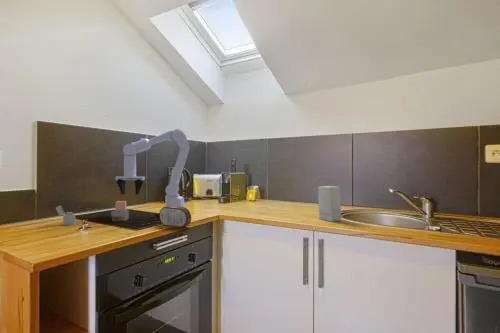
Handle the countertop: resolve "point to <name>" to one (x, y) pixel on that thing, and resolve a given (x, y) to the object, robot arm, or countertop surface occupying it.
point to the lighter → (66, 216)
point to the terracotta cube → (120, 206)
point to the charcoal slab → (119, 213)
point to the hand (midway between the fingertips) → (130, 194)
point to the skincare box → (329, 203)
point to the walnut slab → (120, 218)
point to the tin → (175, 216)
